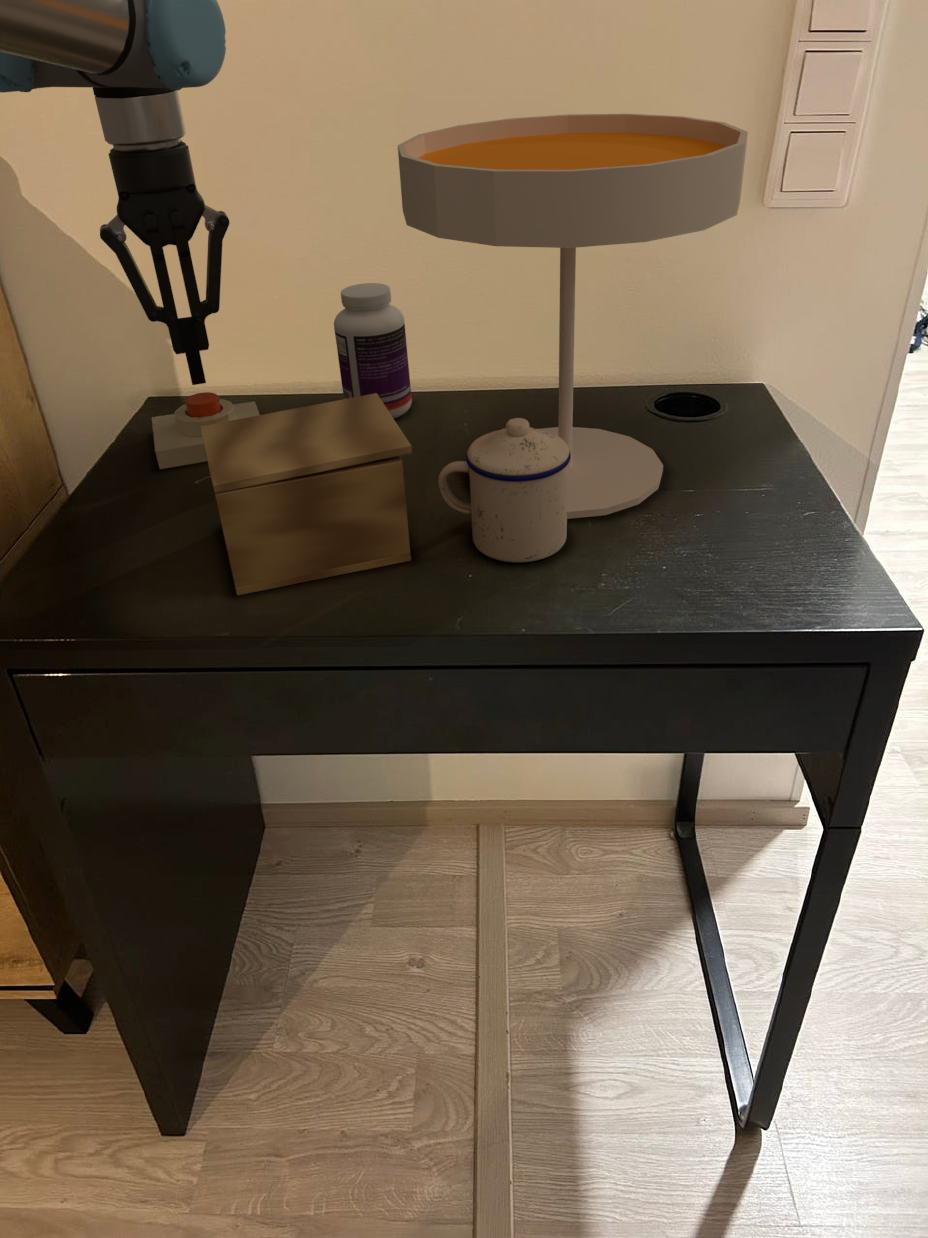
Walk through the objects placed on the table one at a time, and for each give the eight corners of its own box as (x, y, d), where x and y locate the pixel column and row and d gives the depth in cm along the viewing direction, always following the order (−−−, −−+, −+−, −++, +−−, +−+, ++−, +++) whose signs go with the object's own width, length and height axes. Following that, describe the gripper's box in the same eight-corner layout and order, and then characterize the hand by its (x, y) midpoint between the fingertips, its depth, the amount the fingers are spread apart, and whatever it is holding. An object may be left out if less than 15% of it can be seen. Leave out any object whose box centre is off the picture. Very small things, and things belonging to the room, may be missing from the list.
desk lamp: (631, 399, 114) (648, 104, 96) (769, 508, 90) (825, 145, 73) (391, 441, 107) (361, 132, 89) (473, 570, 84) (455, 187, 66)
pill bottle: (424, 404, 116) (415, 282, 107) (390, 429, 110) (378, 303, 102) (368, 395, 119) (355, 276, 111) (332, 419, 113) (315, 296, 105)
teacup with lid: (577, 521, 90) (580, 404, 84) (557, 571, 83) (559, 447, 77) (456, 509, 93) (450, 395, 87) (427, 556, 86) (417, 436, 80)
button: (189, 421, 105) (186, 406, 104) (187, 409, 108) (184, 395, 107) (222, 416, 106) (219, 401, 105) (219, 404, 109) (216, 390, 108)
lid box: (379, 499, 96) (369, 407, 90) (411, 560, 86) (402, 461, 80) (222, 528, 92) (201, 434, 87) (237, 595, 82) (214, 494, 77)
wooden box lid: (377, 400, 90) (376, 392, 90) (412, 453, 80) (411, 444, 80) (201, 434, 87) (199, 426, 86) (214, 493, 77) (212, 485, 76)
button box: (159, 469, 104) (151, 435, 102) (155, 434, 112) (147, 402, 110) (269, 451, 107) (263, 417, 104) (257, 418, 115) (252, 386, 112)
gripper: (212, 131, 96) (253, 360, 109) (77, 144, 93) (136, 377, 107) (219, 142, 90) (261, 382, 104) (75, 156, 87) (138, 401, 101)
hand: (198, 379), depth 105 cm, fingers closed
